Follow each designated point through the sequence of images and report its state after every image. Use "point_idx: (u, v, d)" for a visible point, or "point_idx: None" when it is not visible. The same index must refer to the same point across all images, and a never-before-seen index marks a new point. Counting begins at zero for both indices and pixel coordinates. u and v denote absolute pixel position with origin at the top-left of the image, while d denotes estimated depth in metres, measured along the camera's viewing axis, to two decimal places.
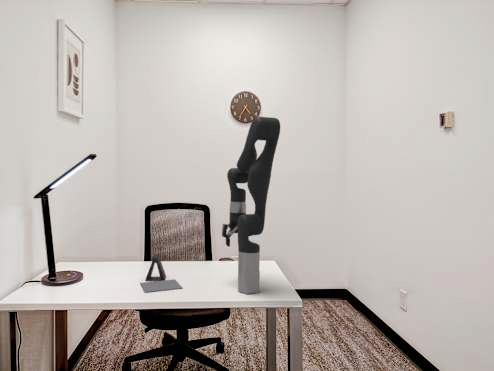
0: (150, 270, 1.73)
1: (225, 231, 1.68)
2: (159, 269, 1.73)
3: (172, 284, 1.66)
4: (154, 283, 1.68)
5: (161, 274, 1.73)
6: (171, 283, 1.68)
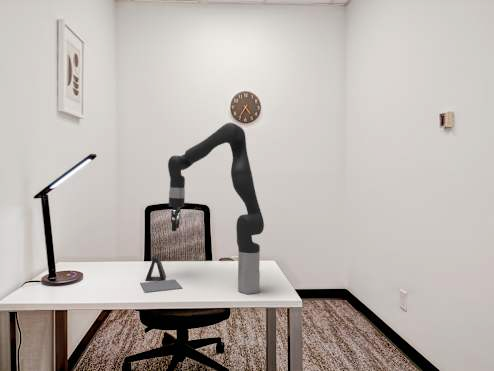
0: (150, 270, 1.73)
1: (176, 216, 1.74)
2: (159, 269, 1.73)
3: (172, 284, 1.66)
4: (154, 283, 1.68)
5: (161, 274, 1.73)
6: (171, 283, 1.68)
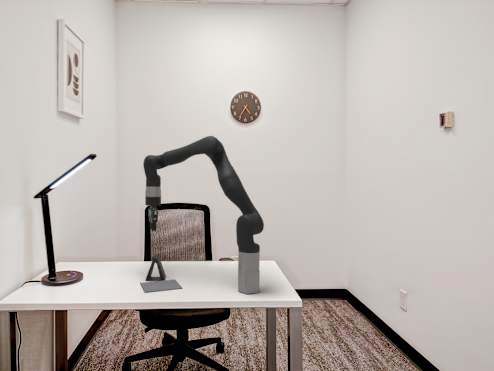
0: (150, 270, 1.73)
1: (157, 216, 1.79)
2: (159, 269, 1.73)
3: (172, 284, 1.66)
4: (154, 283, 1.68)
5: (161, 274, 1.73)
6: (171, 283, 1.68)
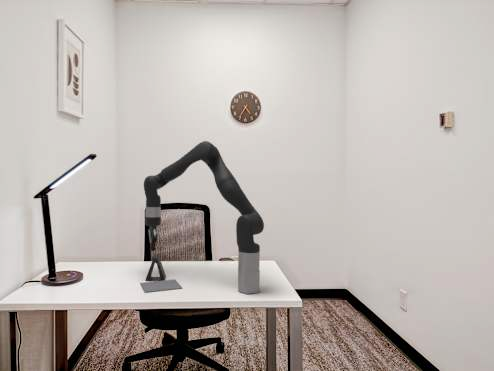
0: (150, 270, 1.73)
1: (156, 238, 1.81)
2: (159, 269, 1.73)
3: (172, 284, 1.66)
4: (154, 283, 1.68)
5: (161, 274, 1.73)
6: (171, 283, 1.68)
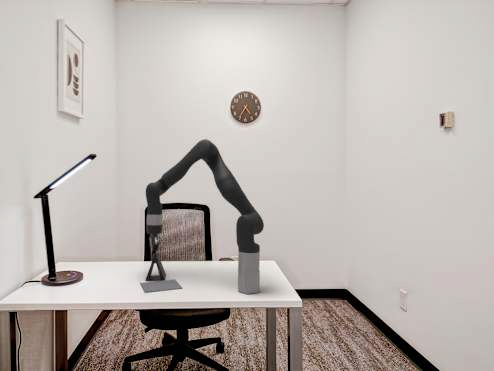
0: (150, 270, 1.72)
1: None
2: (159, 269, 1.73)
3: (172, 284, 1.66)
4: (154, 283, 1.68)
5: (161, 274, 1.73)
6: (171, 283, 1.68)
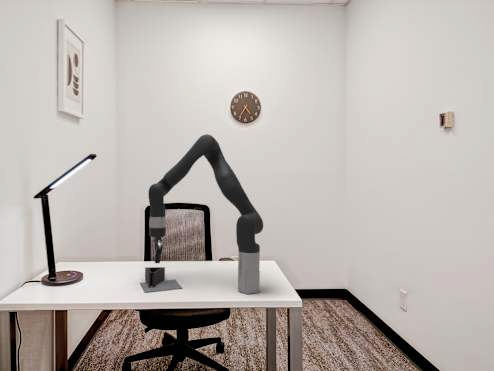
0: None
1: (161, 249, 1.70)
2: None
3: (172, 284, 1.66)
4: None
5: None
6: (171, 283, 1.68)
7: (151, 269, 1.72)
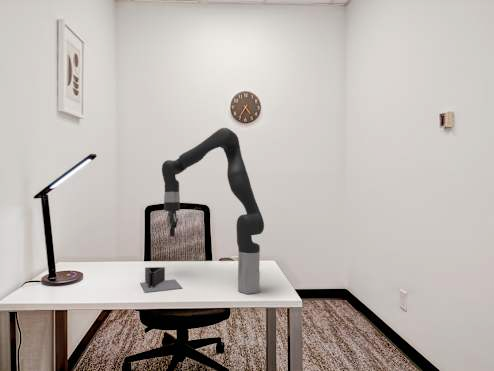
0: None
1: None
2: None
3: (172, 284, 1.66)
4: None
5: None
6: (171, 283, 1.68)
7: (151, 269, 1.72)
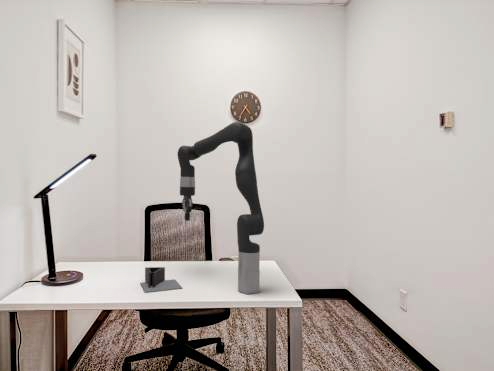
0: None
1: None
2: None
3: (172, 284, 1.66)
4: None
5: None
6: (171, 283, 1.68)
7: (151, 269, 1.72)
